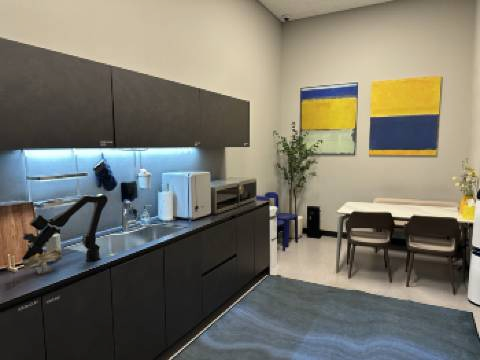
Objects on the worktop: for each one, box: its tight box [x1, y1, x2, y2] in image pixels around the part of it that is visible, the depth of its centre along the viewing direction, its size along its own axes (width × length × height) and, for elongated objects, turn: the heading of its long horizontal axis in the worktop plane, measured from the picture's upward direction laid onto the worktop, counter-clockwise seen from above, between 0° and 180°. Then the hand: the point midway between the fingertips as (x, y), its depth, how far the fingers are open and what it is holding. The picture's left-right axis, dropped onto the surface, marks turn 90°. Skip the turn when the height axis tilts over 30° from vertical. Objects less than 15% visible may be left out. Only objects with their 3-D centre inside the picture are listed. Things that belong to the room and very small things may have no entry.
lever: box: [21, 247, 63, 269], centre depth 183 cm, size 18×7×6 cm, turn 127°
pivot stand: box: [35, 261, 54, 275], centre depth 183 cm, size 7×11×6 cm, turn 37°
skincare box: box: [45, 233, 62, 262], centre depth 202 cm, size 8×6×15 cm
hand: (22, 259), depth 177 cm, fingers closed, pressing on ball, lever
